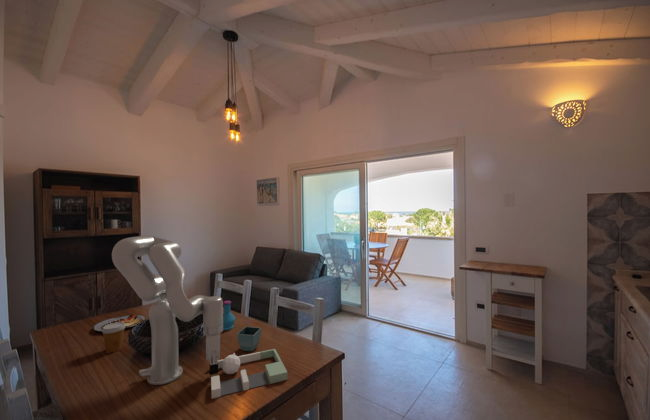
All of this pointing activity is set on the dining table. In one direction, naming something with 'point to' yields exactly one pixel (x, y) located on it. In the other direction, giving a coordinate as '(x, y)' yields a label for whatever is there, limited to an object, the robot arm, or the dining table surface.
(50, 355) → the dining table surface
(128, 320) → the food plate
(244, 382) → the u-shaped rail frame
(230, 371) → the ornament
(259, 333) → the flower pot
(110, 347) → the disposable coffee cup
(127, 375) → the dining table surface
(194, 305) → the robot arm
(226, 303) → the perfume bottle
